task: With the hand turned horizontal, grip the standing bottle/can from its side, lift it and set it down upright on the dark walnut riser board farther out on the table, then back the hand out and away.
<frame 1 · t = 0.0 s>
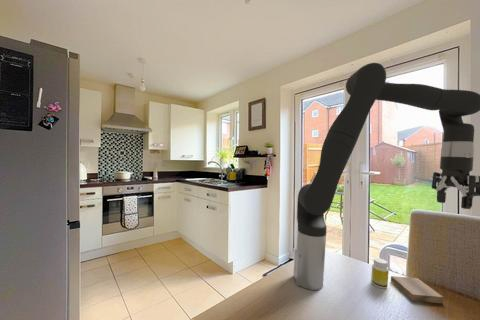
hand: (452, 205, 69), 29 cm above the table, tool pointing down, fingers open, 8 cm apart
supplement bottle: (379, 285, 73), on the table
walnut riser: (414, 291, 70), on the table
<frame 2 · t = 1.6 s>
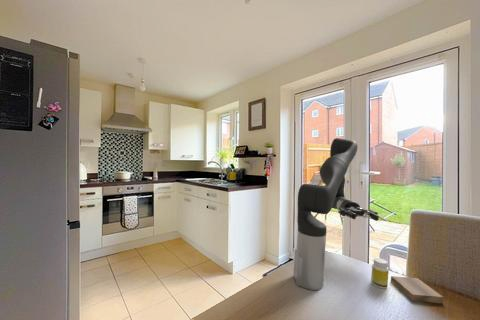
hand: (366, 217, 83), 20 cm above the table, tool horizontal, fingers open, 8 cm apart
nothing on the table moved.
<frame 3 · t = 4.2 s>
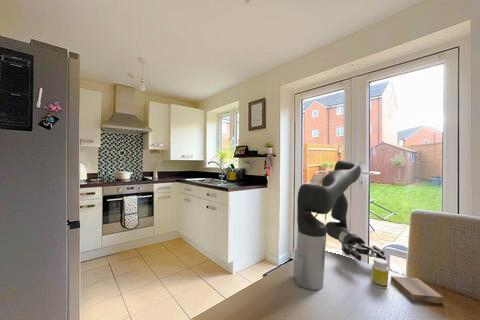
hand: (372, 259, 78), 7 cm above the table, tool horizontal, fingers open, 8 cm apart
nothing on the table moved.
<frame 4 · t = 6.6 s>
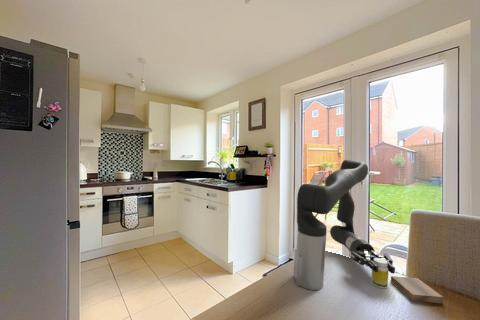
hand: (385, 269, 70), 7 cm above the table, tool horizontal, fingers closed on supplement bottle, 4 cm apart
supplement bottle: (379, 285, 73), on the table, touching gripper
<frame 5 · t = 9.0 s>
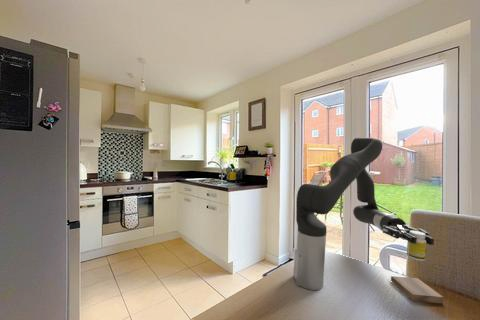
hand: (423, 241, 67), 18 cm above the table, tool horizontal, fingers closed on supplement bottle, 4 cm apart
supplement bottle: (415, 258, 70), point 11 cm above the table, touching gripper
when the fingers open (10 cm above the table, at t = 11.7 s): supplement bottle drops 1 cm, resting on walnut riser.
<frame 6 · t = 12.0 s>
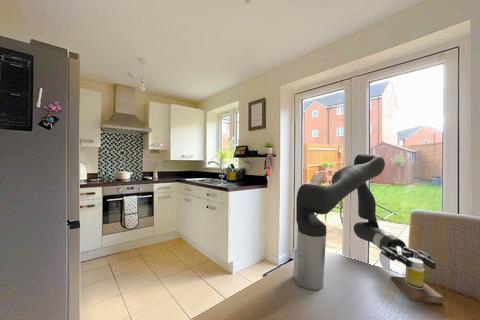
hand: (422, 265, 67), 10 cm above the table, tool horizontal, fingers open, 6 cm apart
supplement bottle: (413, 286, 70), point 2 cm above the table, touching walnut riser
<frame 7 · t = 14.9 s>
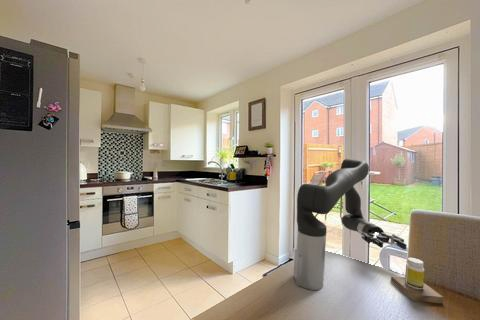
hand: (393, 246, 81), 11 cm above the table, tool horizontal, fingers open, 8 cm apart
nothing on the table moved.
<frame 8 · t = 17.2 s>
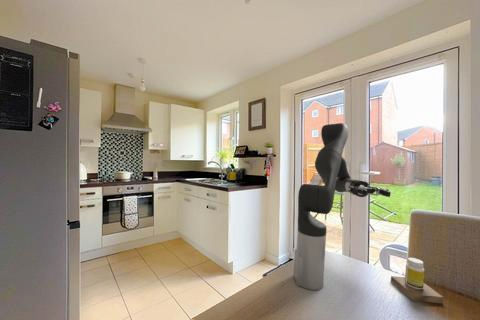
hand: (377, 193, 82), 30 cm above the table, tool horizontal, fingers open, 8 cm apart
nothing on the table moved.
at the end: supplement bottle inside the target area on the walnut riser (0.4 cm from its centre), point 1.8 cm above the walnut riser's base; supplement bottle tilted 0°; the gripper is holding nothing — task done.
